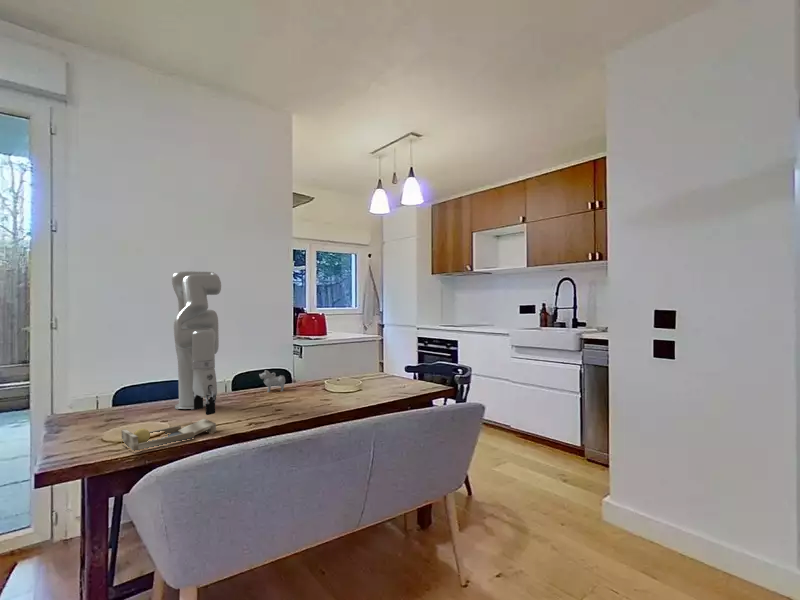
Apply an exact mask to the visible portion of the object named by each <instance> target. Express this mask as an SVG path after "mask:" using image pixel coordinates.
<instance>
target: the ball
mask: <svg viewBox="0 0 800 600" xmlns="http://www.w3.org/2000/svg"><path fill="white" fill-rule="evenodd" d="M150 432H151V431H149V430H148V429H146V428H138V429H136V431H135V430H134V433H133V434H134V435H136V436H138V444H139V443H143V442H147V441H148V440H149V438H150Z"/></svg>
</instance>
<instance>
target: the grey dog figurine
mask: <svg viewBox="0 0 800 600" xmlns="http://www.w3.org/2000/svg"><path fill="white" fill-rule="evenodd" d="M258 375H259V378H260V379H261V380H263V383H264V385H265V386H267V391H266V392H267V393H270V392H271V388H272V386H273V387H274V386H276V387H280V392H284V387H285V383H286V377H285V375H279V376H276V372H272V373H271V372H270V371H269V370H264V372H262V373H259V374H258Z"/></svg>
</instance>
